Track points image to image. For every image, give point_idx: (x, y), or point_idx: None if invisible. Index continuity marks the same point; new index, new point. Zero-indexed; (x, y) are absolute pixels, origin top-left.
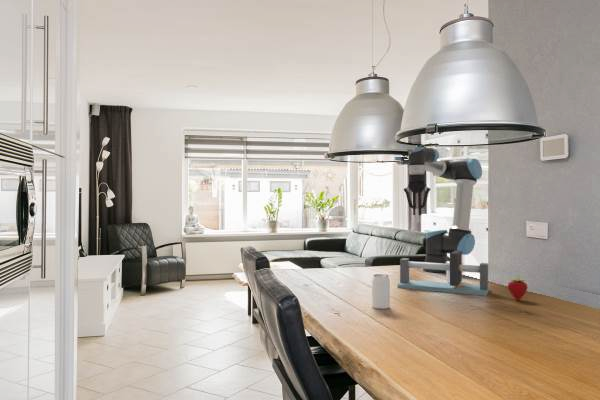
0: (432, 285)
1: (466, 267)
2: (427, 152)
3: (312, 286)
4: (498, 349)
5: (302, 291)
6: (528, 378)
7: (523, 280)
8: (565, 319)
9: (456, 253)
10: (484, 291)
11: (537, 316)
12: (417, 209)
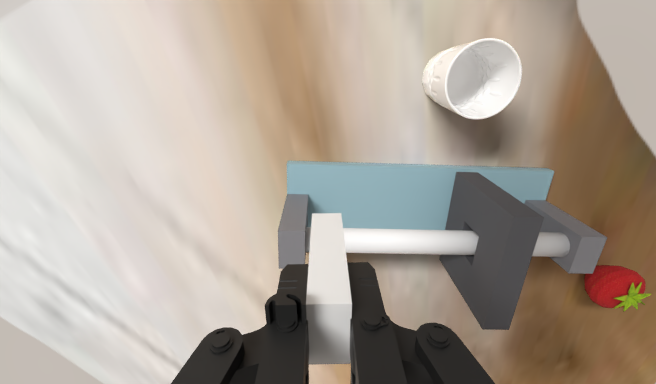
0: (386, 226)
1: None
2: None
3: (80, 320)
4: None
5: (103, 372)
6: None
7: (646, 295)
8: (620, 376)
9: (508, 320)
10: None
11: (579, 376)
12: (338, 356)
